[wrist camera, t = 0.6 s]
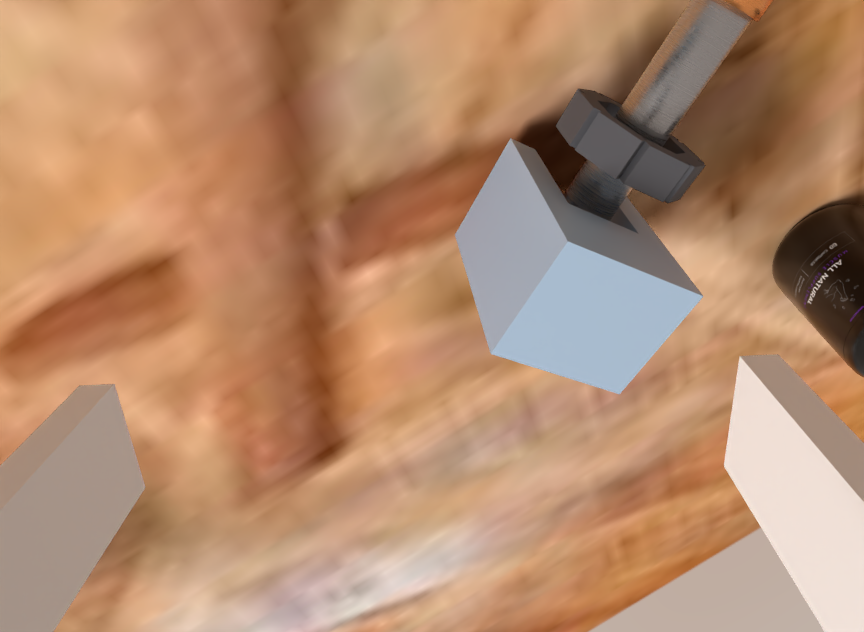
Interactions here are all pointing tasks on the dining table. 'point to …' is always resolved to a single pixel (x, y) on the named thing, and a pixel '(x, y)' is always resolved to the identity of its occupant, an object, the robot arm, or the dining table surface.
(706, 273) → the dining table surface
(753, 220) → the dining table surface
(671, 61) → the pipe rig
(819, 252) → the supplement bottle
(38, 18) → the dining table surface
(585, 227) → the sleeve
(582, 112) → the ring
